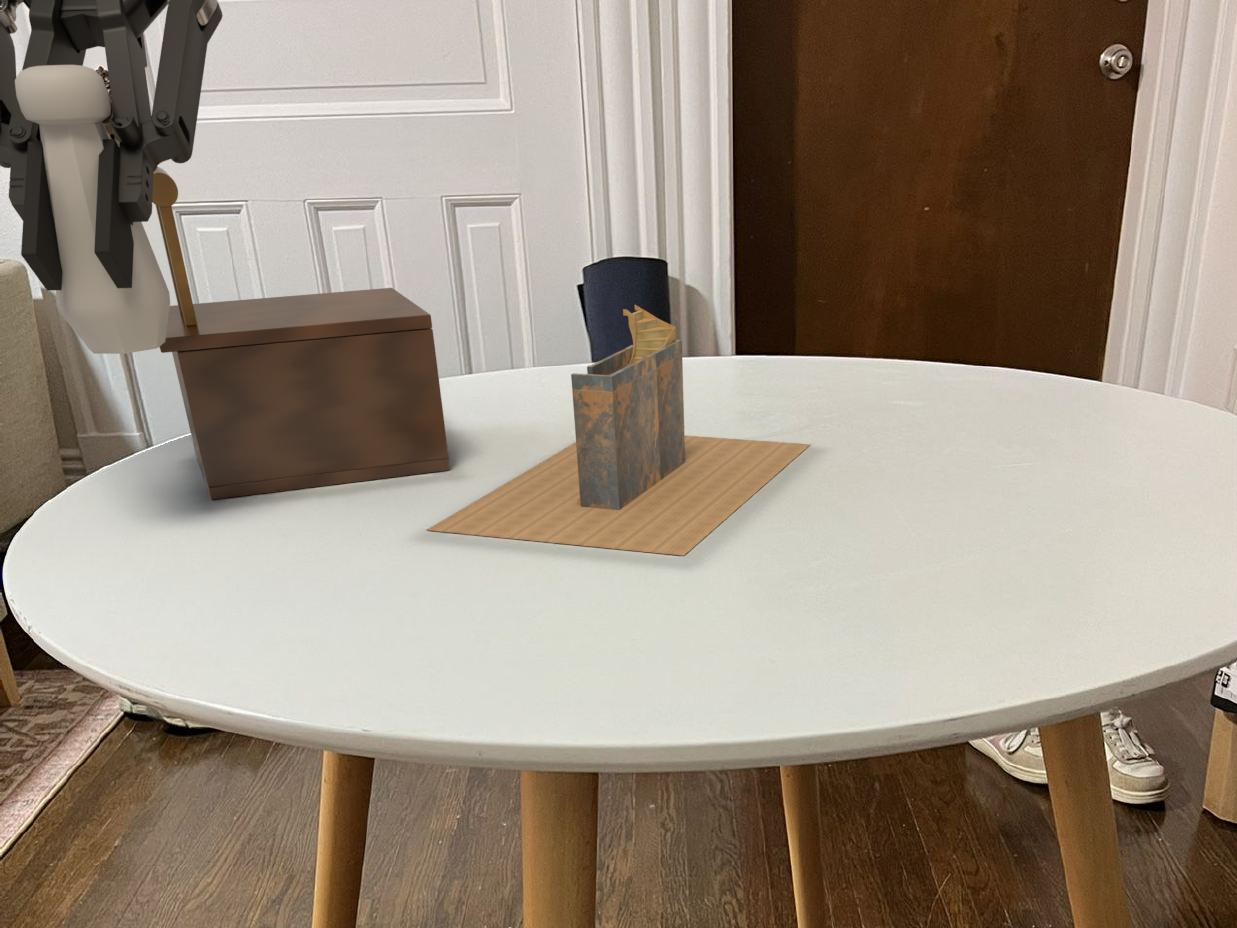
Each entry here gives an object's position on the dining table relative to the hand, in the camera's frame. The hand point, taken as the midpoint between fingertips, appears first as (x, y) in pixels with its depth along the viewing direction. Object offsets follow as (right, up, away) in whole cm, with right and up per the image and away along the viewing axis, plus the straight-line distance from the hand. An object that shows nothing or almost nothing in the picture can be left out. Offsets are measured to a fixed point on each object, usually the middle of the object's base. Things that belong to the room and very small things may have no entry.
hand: (77, 270), depth 67 cm
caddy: (+5, -1, +24) cm, 25 cm away
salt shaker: (0, -2, +6) cm, 6 cm away
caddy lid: (+5, +6, +19) cm, 21 cm away
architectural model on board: (+28, -5, +18) cm, 33 cm away
